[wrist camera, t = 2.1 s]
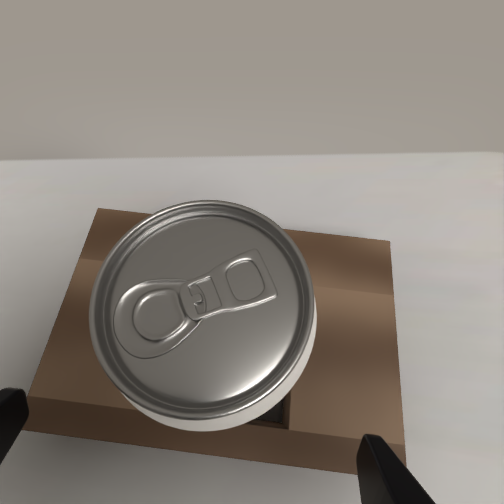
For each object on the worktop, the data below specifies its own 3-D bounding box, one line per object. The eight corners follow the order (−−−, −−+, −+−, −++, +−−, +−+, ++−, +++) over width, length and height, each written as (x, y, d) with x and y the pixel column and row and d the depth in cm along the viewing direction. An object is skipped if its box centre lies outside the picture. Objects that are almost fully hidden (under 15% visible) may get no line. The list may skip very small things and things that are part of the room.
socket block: (380, 465, 16) (407, 481, 14) (52, 422, 17) (14, 429, 14) (370, 259, 21) (389, 241, 18) (116, 230, 22) (98, 207, 19)
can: (161, 319, 19) (50, 230, 8) (255, 282, 20) (268, 160, 9) (193, 428, 17) (99, 505, 6) (298, 379, 18) (383, 367, 7)
